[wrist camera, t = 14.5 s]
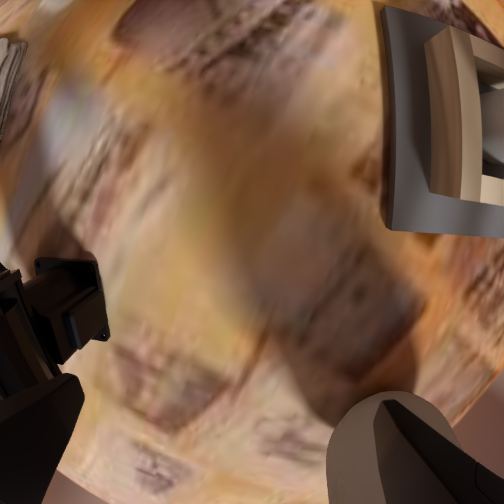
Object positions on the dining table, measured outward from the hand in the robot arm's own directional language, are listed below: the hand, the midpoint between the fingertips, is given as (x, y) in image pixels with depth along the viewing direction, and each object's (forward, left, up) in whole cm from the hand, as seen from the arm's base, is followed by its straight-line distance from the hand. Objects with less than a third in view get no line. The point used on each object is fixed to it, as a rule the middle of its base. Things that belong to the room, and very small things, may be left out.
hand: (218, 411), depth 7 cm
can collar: (+16, +11, -12) cm, 23 cm away
